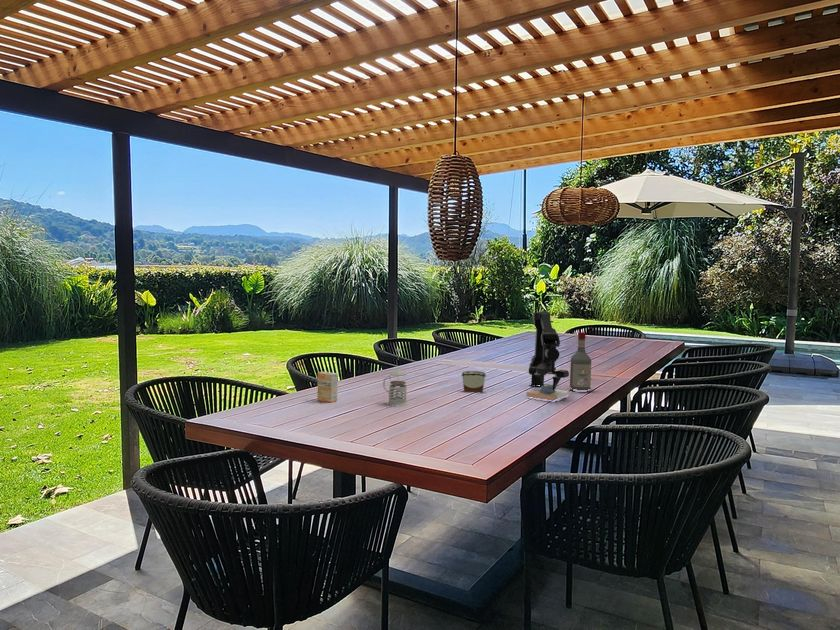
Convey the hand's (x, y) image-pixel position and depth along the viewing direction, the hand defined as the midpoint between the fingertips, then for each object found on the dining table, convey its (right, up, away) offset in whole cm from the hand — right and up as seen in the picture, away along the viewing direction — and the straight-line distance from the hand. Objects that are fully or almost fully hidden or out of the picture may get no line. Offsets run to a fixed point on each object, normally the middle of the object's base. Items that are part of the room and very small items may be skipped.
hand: (547, 389), depth 283 cm
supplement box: (-104, -4, -13) cm, 105 cm away
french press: (-72, -4, -16) cm, 74 cm away
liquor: (+20, -3, +18) cm, 28 cm away
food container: (-35, -3, +13) cm, 37 cm away
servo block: (0, -3, 0) cm, 3 cm away
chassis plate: (0, -4, 0) cm, 4 cm away
